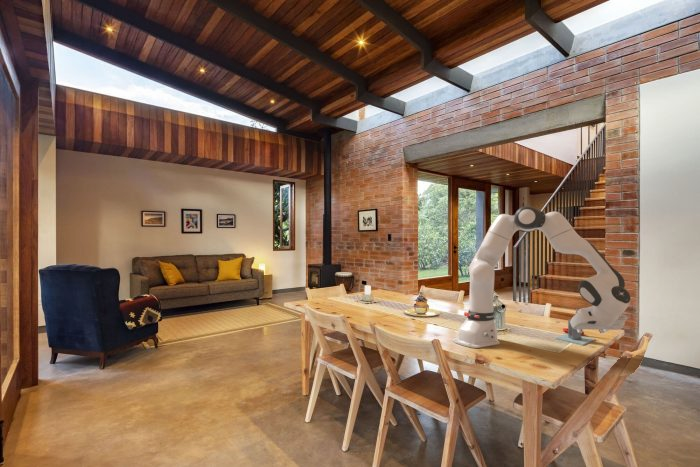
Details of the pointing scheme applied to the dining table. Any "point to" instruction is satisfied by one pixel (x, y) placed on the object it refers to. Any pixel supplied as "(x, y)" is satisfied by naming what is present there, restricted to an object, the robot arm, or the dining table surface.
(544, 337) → the dining table surface
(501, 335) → the dining table surface
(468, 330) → the robot arm
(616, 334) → the dining table surface
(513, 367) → the dining table surface
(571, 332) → the link block
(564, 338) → the pad
